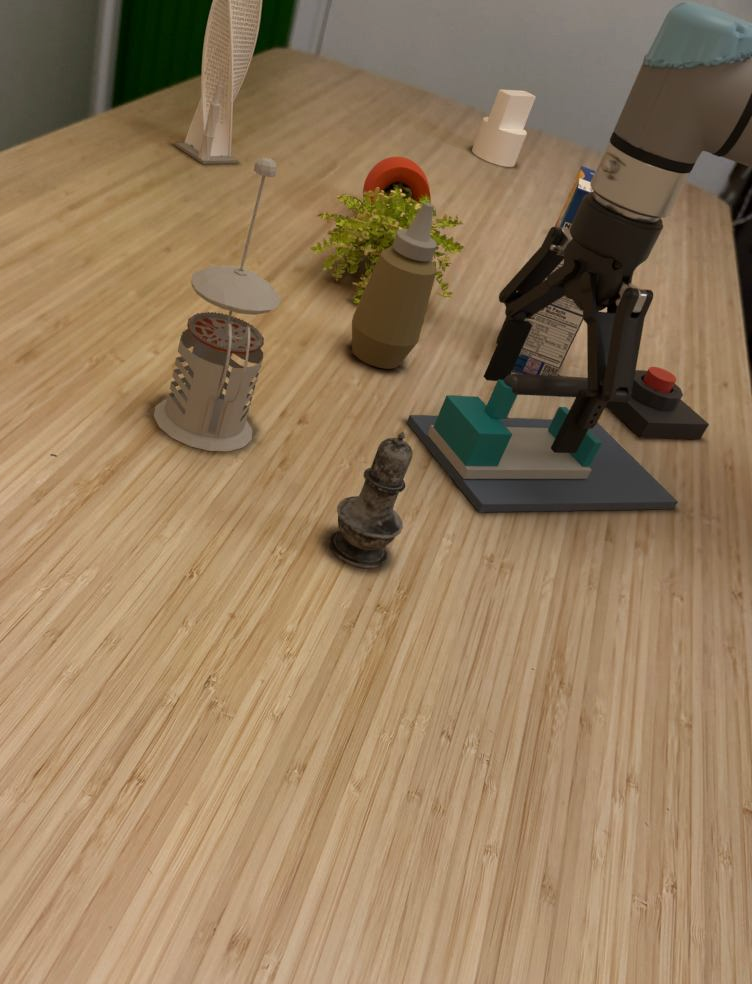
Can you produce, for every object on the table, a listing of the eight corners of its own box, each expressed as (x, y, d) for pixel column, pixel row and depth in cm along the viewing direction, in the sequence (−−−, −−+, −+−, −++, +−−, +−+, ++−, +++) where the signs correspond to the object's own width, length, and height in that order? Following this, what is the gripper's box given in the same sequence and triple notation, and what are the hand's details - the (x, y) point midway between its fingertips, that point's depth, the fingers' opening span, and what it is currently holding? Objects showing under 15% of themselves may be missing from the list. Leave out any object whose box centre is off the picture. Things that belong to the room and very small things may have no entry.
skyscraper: (168, 141, 161) (207, -69, 143) (208, 141, 166) (249, -61, 148) (202, 163, 157) (246, -49, 140) (241, 163, 162) (288, -42, 145)
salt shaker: (331, 521, 93) (372, 404, 86) (393, 542, 93) (440, 427, 86) (320, 556, 89) (363, 436, 81) (385, 578, 89) (434, 461, 81)
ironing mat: (674, 509, 112) (678, 501, 112) (478, 512, 101) (482, 504, 100) (592, 427, 123) (595, 420, 122) (406, 422, 111) (409, 414, 111)
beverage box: (500, 366, 129) (578, 188, 115) (507, 334, 138) (581, 165, 124) (551, 385, 129) (636, 209, 115) (556, 352, 137) (635, 185, 123)
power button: (675, 395, 127) (682, 382, 126) (653, 394, 126) (660, 381, 125) (657, 379, 129) (664, 367, 128) (636, 378, 128) (643, 365, 127)
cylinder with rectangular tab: (489, 148, 210) (513, 84, 203) (523, 166, 206) (548, 102, 199) (463, 148, 205) (486, 83, 197) (497, 167, 201) (522, 101, 193)
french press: (245, 403, 105) (313, 150, 89) (263, 468, 97) (342, 201, 81) (149, 389, 102) (202, 125, 86) (159, 455, 94) (220, 175, 78)
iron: (463, 479, 103) (500, 395, 97) (426, 434, 108) (460, 351, 102) (587, 479, 110) (629, 400, 104) (547, 437, 115) (585, 360, 109)
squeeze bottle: (381, 380, 117) (437, 224, 106) (328, 347, 120) (377, 191, 109) (421, 368, 123) (478, 217, 111) (370, 335, 126) (420, 186, 114)
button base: (700, 439, 128) (717, 411, 126) (639, 438, 124) (656, 408, 121) (643, 388, 136) (658, 360, 133) (584, 385, 132) (598, 356, 129)
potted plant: (304, 225, 165) (298, 298, 127) (328, 130, 158) (329, 177, 120) (420, 256, 167) (447, 338, 129) (448, 163, 159) (487, 220, 122)
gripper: (521, 146, 98) (441, 349, 112) (680, 264, 82) (564, 484, 96) (582, 156, 102) (497, 353, 115) (746, 272, 86) (625, 484, 99)
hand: (527, 413), depth 106 cm, fingers open, 13 cm apart
